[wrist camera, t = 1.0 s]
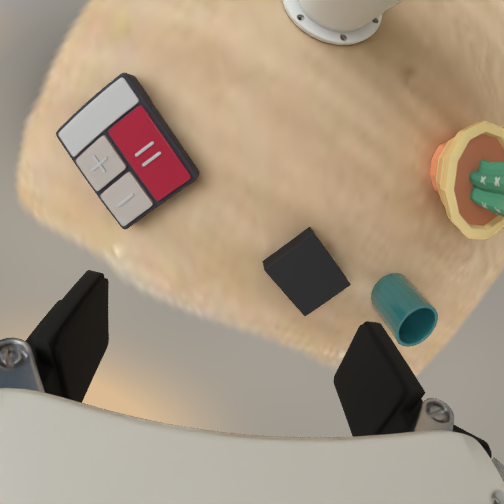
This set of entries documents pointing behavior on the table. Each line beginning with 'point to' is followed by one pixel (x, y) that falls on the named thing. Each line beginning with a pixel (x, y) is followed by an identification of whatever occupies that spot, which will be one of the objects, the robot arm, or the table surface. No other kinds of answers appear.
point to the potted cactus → (472, 179)
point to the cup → (404, 309)
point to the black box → (306, 272)
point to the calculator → (127, 151)
